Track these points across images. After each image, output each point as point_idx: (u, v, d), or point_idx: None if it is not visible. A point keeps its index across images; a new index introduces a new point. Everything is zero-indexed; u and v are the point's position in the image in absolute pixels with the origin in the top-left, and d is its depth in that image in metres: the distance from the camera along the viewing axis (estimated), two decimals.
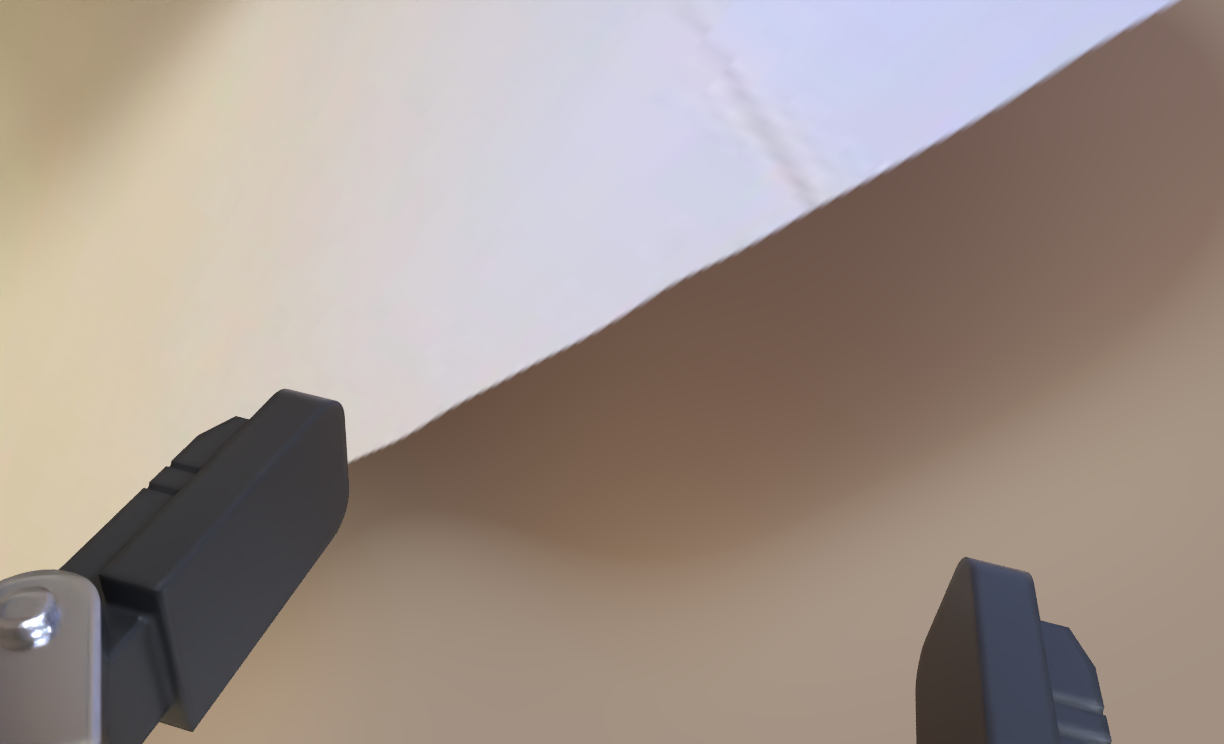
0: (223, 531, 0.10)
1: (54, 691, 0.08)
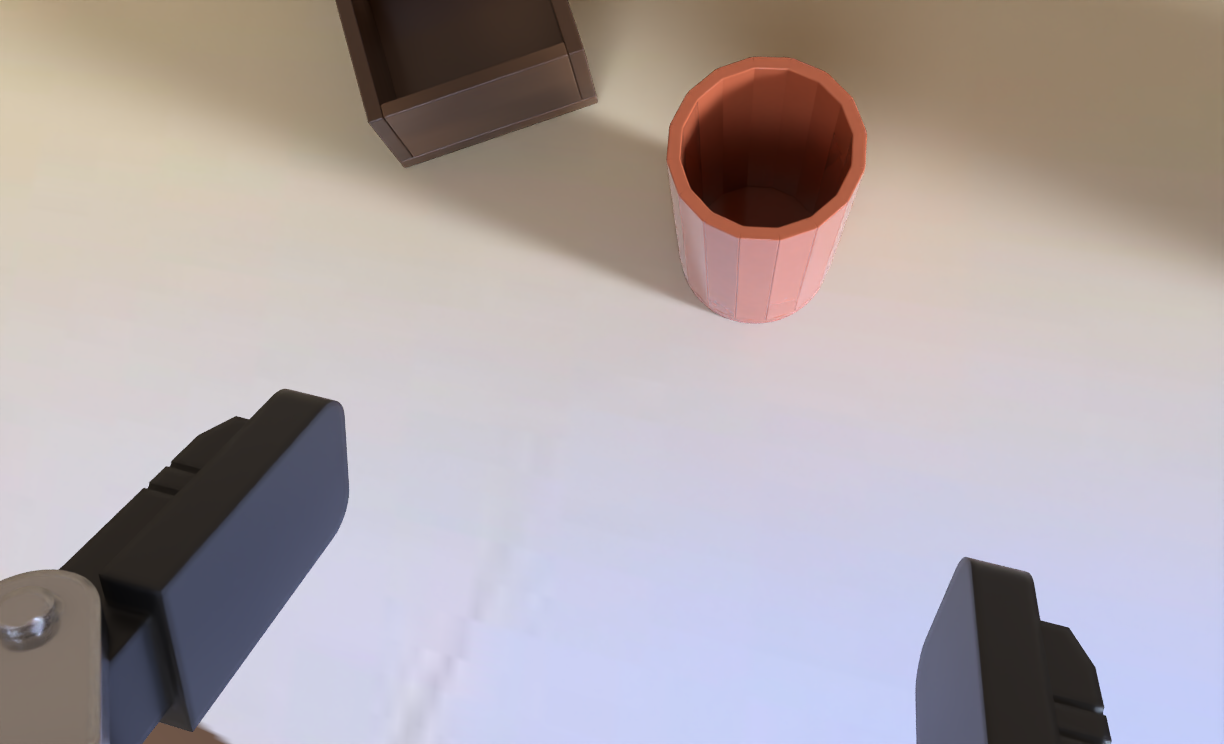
0: (223, 531, 0.10)
1: (54, 691, 0.08)
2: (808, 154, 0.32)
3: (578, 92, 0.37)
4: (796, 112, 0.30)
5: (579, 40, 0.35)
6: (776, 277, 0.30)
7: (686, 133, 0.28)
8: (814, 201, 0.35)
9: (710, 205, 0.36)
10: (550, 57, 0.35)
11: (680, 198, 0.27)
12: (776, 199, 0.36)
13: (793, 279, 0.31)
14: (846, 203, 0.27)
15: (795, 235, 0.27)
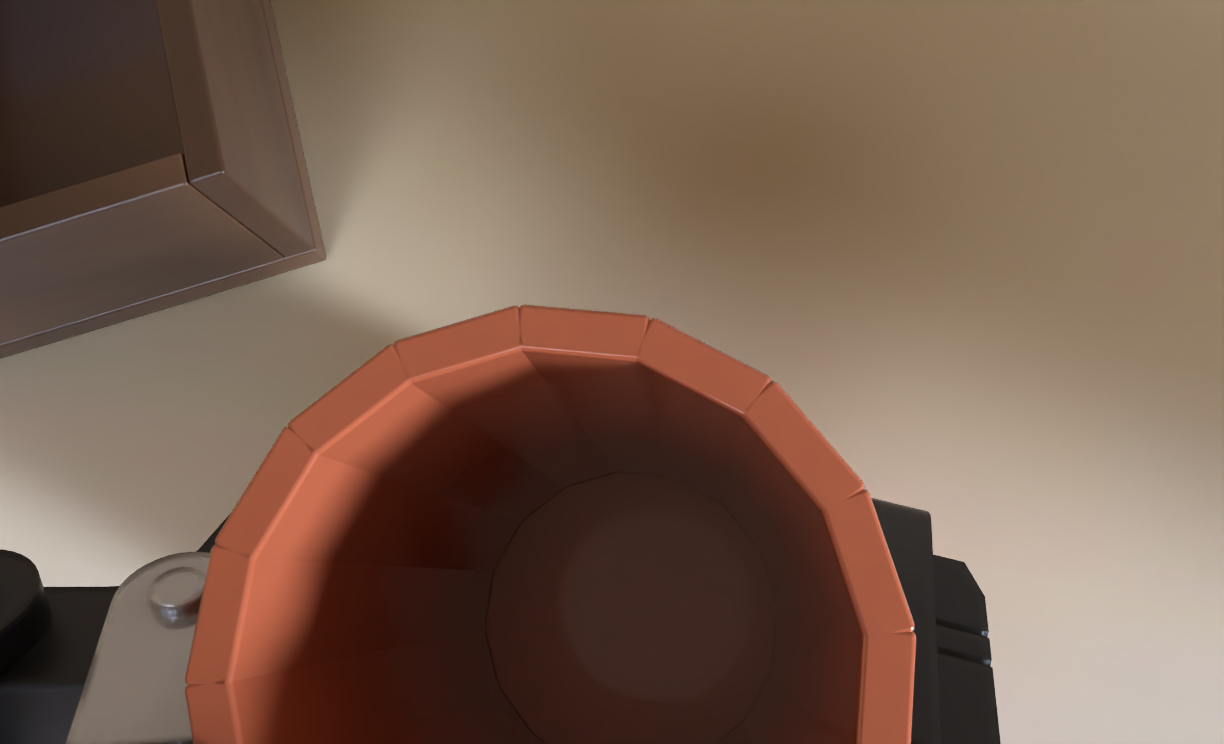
0: None
1: None
2: (737, 490, 0.12)
3: (266, 246, 0.17)
4: (690, 432, 0.10)
5: (216, 150, 0.15)
6: None
7: (302, 542, 0.08)
8: (762, 545, 0.15)
9: (536, 510, 0.17)
10: (146, 188, 0.15)
11: None
12: (681, 505, 0.16)
13: None
14: None
15: None
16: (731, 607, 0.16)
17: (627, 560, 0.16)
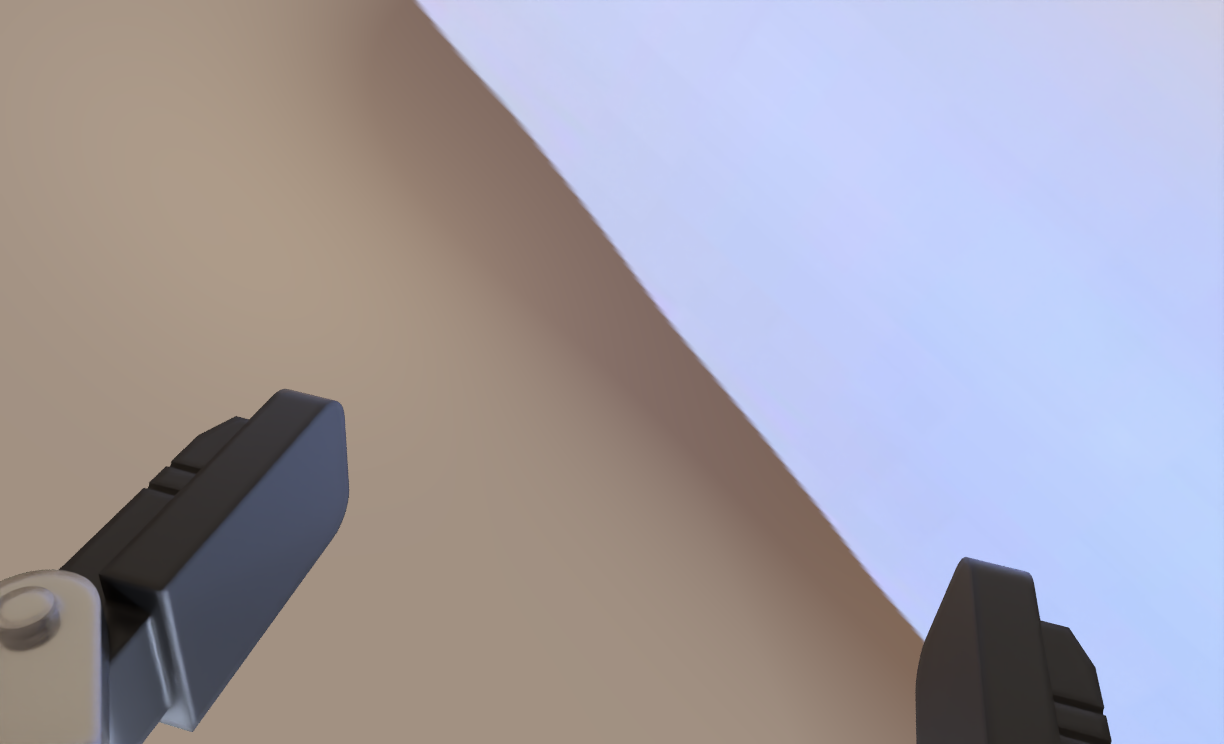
0: (223, 531, 0.10)
1: (54, 691, 0.08)
2: None
3: None
4: None
5: None
6: None
7: None
8: None
9: None
10: None
11: None
12: None
13: None
14: None
15: None
16: None
17: None
